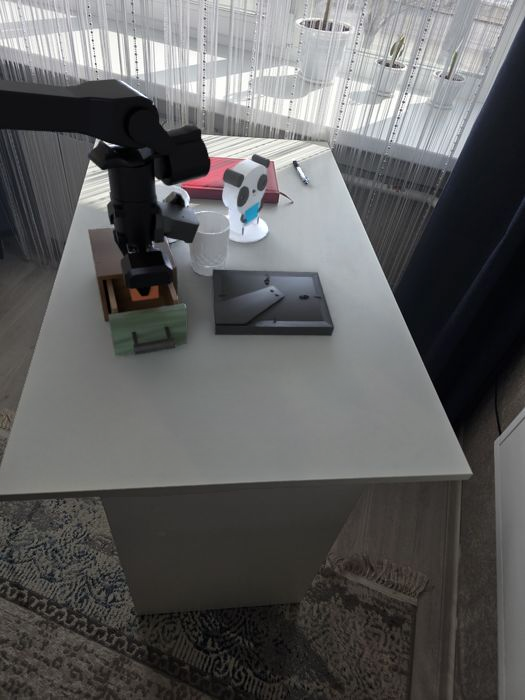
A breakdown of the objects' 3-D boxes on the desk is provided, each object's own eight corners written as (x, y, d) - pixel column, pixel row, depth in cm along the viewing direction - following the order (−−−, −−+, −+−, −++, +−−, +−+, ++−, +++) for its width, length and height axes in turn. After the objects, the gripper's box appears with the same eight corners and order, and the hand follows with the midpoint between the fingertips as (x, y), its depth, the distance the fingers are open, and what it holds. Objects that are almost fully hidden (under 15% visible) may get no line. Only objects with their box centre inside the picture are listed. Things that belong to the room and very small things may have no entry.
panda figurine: (247, 250, 99) (253, 183, 88) (205, 229, 103) (206, 163, 92) (277, 227, 106) (287, 163, 96) (237, 209, 110) (242, 145, 99)
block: (132, 301, 71) (129, 280, 68) (128, 285, 73) (125, 264, 71) (158, 297, 72) (157, 277, 69) (153, 282, 75) (152, 261, 72)
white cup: (203, 283, 90) (204, 238, 82) (180, 262, 93) (179, 217, 86) (235, 270, 94) (239, 226, 86) (212, 250, 97) (214, 207, 90)
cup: (199, 235, 101) (199, 195, 94) (168, 255, 95) (166, 214, 88) (163, 218, 104) (162, 178, 97) (131, 236, 98) (127, 195, 91)
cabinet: (178, 311, 83) (177, 267, 77) (104, 321, 80) (96, 276, 73) (162, 266, 92) (160, 223, 85) (96, 273, 88) (87, 229, 81)
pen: (310, 185, 122) (311, 181, 121) (304, 185, 122) (305, 181, 121) (296, 161, 131) (297, 157, 131) (290, 161, 131) (291, 157, 130)
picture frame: (214, 334, 80) (331, 335, 83) (215, 322, 78) (335, 324, 81) (212, 278, 91) (315, 280, 94) (212, 266, 89) (318, 269, 92)
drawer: (193, 362, 74) (193, 327, 69) (119, 376, 71) (113, 340, 65) (170, 296, 85) (169, 260, 79) (105, 304, 81) (99, 268, 76)
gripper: (212, 225, 58) (209, 318, 69) (178, 157, 69) (180, 246, 80) (119, 233, 54) (131, 330, 65) (100, 161, 66) (113, 254, 77)
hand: (142, 286), depth 72 cm, fingers closed on block, 4 cm apart
